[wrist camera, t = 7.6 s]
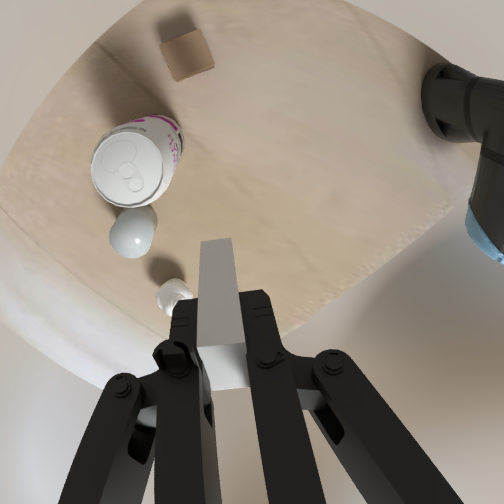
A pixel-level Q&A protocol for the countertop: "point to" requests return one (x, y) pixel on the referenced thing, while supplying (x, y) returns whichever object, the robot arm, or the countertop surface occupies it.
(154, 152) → the supplement can
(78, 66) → the countertop surface
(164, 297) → the white ribbed rounded piece
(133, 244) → the white rounded cylinder
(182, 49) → the walnut block
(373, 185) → the countertop surface
